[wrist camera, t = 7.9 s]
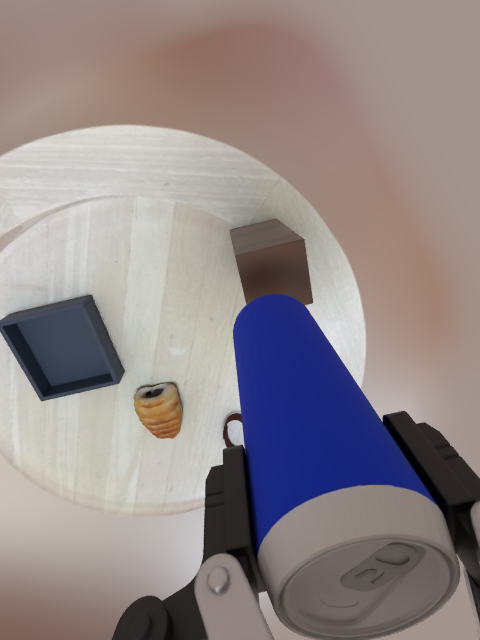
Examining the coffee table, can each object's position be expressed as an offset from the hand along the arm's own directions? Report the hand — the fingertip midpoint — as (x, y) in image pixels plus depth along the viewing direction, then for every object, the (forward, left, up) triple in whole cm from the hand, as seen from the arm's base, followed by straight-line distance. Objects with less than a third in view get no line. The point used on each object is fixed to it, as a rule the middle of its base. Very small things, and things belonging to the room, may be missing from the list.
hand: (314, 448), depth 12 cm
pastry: (+20, -17, -33) cm, 42 cm away
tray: (+7, -26, -33) cm, 43 cm away
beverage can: (0, 0, -11) cm, 11 cm away
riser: (0, +2, -33) cm, 33 cm away
